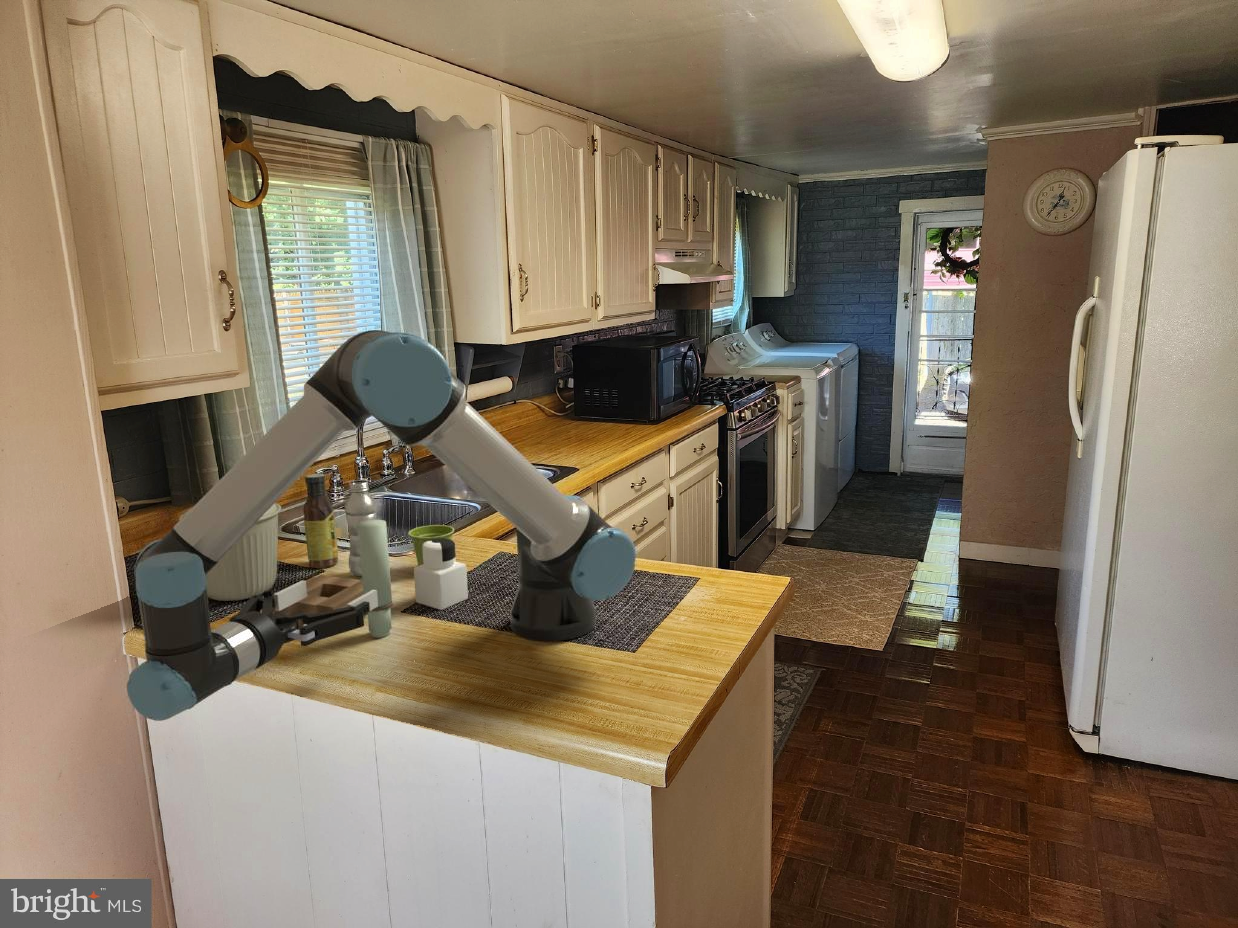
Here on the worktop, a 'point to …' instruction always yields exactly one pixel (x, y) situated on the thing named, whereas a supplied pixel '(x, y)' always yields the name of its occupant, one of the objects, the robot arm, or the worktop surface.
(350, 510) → the plastic bottle
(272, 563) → the canister
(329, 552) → the sauce bottle
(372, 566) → the stool leg
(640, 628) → the worktop surface
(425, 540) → the plant pot
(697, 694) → the worktop surface
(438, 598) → the medicine bottle
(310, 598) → the wooden holder block
